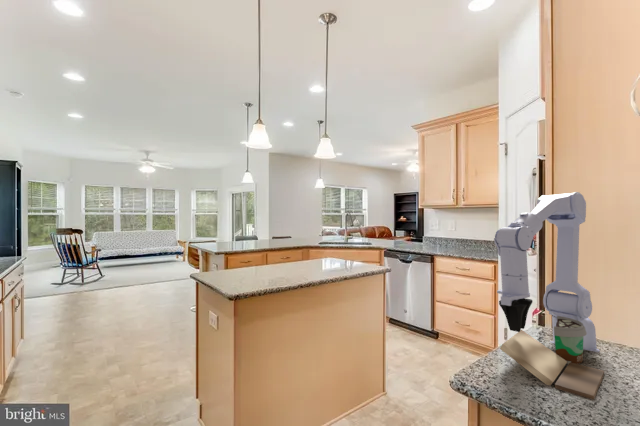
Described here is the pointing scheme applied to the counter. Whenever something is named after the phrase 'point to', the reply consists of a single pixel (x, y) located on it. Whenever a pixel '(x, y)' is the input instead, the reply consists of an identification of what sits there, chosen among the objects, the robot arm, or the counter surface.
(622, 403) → the counter surface
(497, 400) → the counter surface
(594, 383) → the walnut board
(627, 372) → the counter surface
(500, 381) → the counter surface
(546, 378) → the oak plank
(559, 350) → the food container
